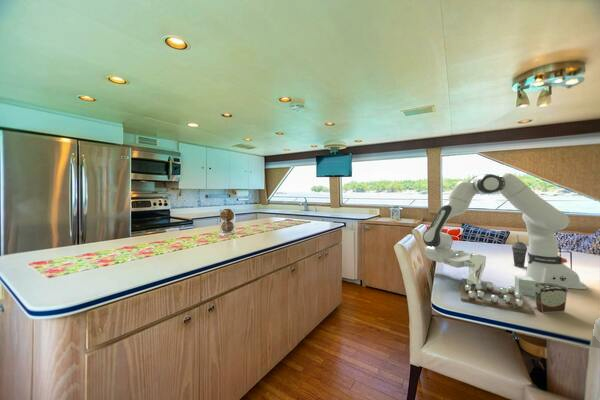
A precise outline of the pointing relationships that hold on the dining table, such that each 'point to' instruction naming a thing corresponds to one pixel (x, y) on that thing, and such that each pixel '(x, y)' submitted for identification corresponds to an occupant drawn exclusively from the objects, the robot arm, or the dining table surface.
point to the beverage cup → (519, 253)
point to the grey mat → (483, 283)
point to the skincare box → (524, 285)
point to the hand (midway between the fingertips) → (479, 264)
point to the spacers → (494, 297)
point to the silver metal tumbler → (476, 268)
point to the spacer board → (500, 305)
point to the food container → (550, 297)
